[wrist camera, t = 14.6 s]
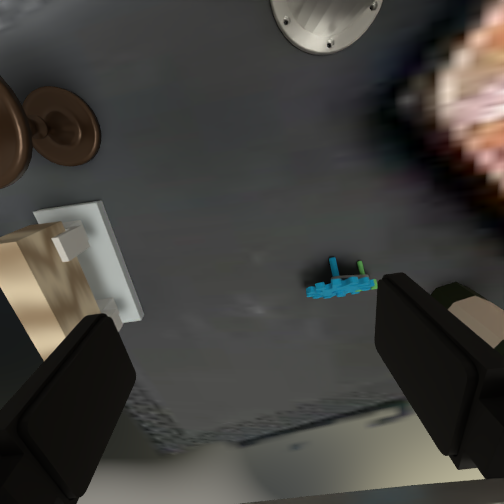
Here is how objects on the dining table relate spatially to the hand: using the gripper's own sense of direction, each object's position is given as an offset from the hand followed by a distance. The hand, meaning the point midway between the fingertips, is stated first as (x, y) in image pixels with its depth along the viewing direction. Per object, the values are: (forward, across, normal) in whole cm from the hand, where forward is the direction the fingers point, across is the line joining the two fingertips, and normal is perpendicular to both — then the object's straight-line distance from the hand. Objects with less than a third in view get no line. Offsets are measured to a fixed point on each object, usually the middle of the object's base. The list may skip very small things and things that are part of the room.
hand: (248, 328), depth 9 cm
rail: (+24, +25, +9) cm, 36 cm away
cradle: (+30, +25, +9) cm, 40 cm away
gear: (+31, -12, +17) cm, 37 cm away
